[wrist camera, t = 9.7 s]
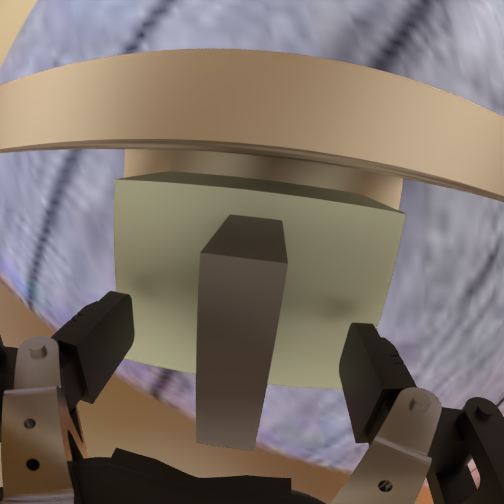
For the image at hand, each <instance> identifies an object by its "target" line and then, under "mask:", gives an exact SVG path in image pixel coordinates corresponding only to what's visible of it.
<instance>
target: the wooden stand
mask: <svg viewBox="0 0 504 504" xmlns="http://www.w3.org/2000/svg"><path fill="white" fill-rule="evenodd" d="M60 149H125V159H124V178H126V177H132V176H138V175H145V174H151V173H158V172H165V171H175V172H189V173H202V174H213V175H224V176H234V177H244V178H253V179H262V180H270V181H278V182H286V183H293V184H301V185H308V186H315V187H321V188H328V189H334V190H340V191H346V192H352V193H358V194H362V195H364V196H367V197H369V198H371V199H374V200H376V201H378V202H380V203H383V204H385V205H387V206H389V207H392V208H394V209H396V210H399V204H400V198H401V192H402V185H403V178H404V179H409V180H414V181H419V182H424V183H429V184H434V185H438V186H443V187H447V188H452V189H456V190H460V191H464V192H468V193H472V194H476V195H480V196H484V197H488V198H492V199H495V200H499V201H502V202H504V117H503V116H501V115H499V114H497V113H495V112H492V111H490V110H488V109H486V108H484V107H482V106H480V105H478V104H475V103H473V102H471V101H468V100H466V99H464V98H461V97H459V96H456V95H454V94H451V93H449V92H446V91H444V90H441V89H438V88H436V87H433V86H430V85H427V84H424V83H421V82H418V81H415V80H412V79H409V78H406V77H402V76H399V75H395V74H392V73H388V72H385V71H381V70H377V69H373V68H369V67H365V66H360V65H356V64H351V63H346V62H341V61H336V60H331V59H325V58H319V57H313V56H306V55H299V54H291V53H282V52H271V51H259V50H242V49H181V50H164V51H151V52H141V53H133V54H125V55H118V56H111V57H105V58H99V59H93V60H88V61H83V62H78V63H74V64H69V65H65V66H61V67H57V68H53V69H49V70H46V71H42V72H39V73H35V74H32V75H28V76H25V77H22V78H19V79H16V80H13V81H10V82H7V83H5V84H2V85H0V153H9V152H22V151H37V150H60Z"/></svg>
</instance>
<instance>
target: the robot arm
mask: <svg viewBox="0 0 504 504" xmlns="http://www.w3.org/2000/svg"><path fill="white" fill-rule="evenodd" d="M134 336H135V329H134V319H133V307H132V298H131V296H130V295H129V294H125V293H120V292H114V291H110V292H108V293H107V294H106V295H105V296H104V297H103V298H101V299H100V300H99V301H96V302H94V303H91V304H89V305H87V306H85V307H84V308H83V309H82V310H80V311H79V312H78V313H77V315H75V316H74V317H73V318H71V320H69V321H68V322H67V323H66V324H65V325H64V326H63V327H62V328H60V329H59V330H58V331H57V332H56V333H55V334H54V335H53V336H52V337H51V338H49V337H44V336H38V337H33V338H30V339H28V340H26V341H24V342H23V343H22V344H21V345H20V346H19V348H13V347H5V346H4V345H3V342H2V339H1V336H0V442H1V462H2V480H3V487H0V504H326V503H324V502H322V501H320V500H319V499H317V498H315V497H312V496H310V495H308V494H305V493H302V492H299V491H295V490H291V478H274V477H259V476H248V475H244V476H232V477H215V478H197V477H194V476H192V475H189V474H187V473H184V472H182V471H180V470H178V469H175V468H173V467H171V466H169V465H167V464H165V463H163V462H160V461H158V460H156V459H153V458H150V457H146V456H142V455H139V454H135V453H132V452H128V451H125V450H122V449H119V448H116V449H115V451H114V453H113V455H112V457H111V458H109V457H94V458H90V457H89V454H88V451H87V447H86V443H85V439H84V435H83V430H82V425H81V420H80V416H79V410H78V408H77V403H78V402H79V401H80V400H82V401H85V402H88V403H91V404H93V403H94V401H95V400H96V398H97V397H98V395H99V394H100V392H101V391H102V389H103V388H104V386H105V385H106V383H107V382H108V380H109V379H110V377H111V376H112V375H113V373H114V372H115V370H116V369H117V367H118V366H119V364H120V363H121V361H122V360H123V359H124V357H125V356H126V354H127V353H128V351H129V350H130V348H131V347H132V345H133V342H134ZM403 363H404V362H403V360H402V358H401V357H399V353H398V351H397V349H396V348H395V346H394V345H393V344H392V343H390V342H389V341H388V340H387V339H386V338H381V337H380V336H379V334H378V332H377V330H376V328H375V326H374V325H373V324H372V323H356V322H353V323H351V325H350V327H349V330H348V333H347V337H346V340H345V344H344V347H343V351H342V354H341V357H340V362H339V376H340V380H341V384H342V388H343V392H344V396H345V400H346V404H347V408H348V412H349V416H350V420H351V424H352V429H353V433H354V437H355V442H356V443H369V449H368V450H367V452H366V453H365V455H364V456H363V458H362V460H361V461H360V463H359V464H358V466H357V467H356V469H355V470H354V472H353V473H352V475H351V476H350V478H349V479H348V480H347V482H346V483H345V485H344V486H343V487H342V489H341V490H340V492H339V493H338V494H337V495H336V497H335V498H334V499H333V501H332V502H331V503H330V504H415V501H416V499H417V497H418V494H419V492H420V490H421V487H422V485H423V483H424V480H425V477H426V478H427V481H428V484H429V488H430V491H431V494H432V498H433V502H434V504H504V417H503V415H502V413H501V412H500V410H499V409H498V407H497V406H496V405H495V404H494V403H492V402H491V401H489V400H487V399H485V398H481V397H474V398H471V399H469V400H468V401H467V402H466V404H465V405H464V407H463V409H462V410H459V409H451V408H444V407H442V406H441V402H440V401H439V399H438V398H437V397H436V396H435V395H434V394H433V393H431V392H430V391H428V390H425V389H422V388H417V386H416V384H415V382H414V380H413V379H412V377H411V375H410V373H409V371H408V369H407V368H406V366H405V364H403ZM472 458H473V460H474V462H475V465H476V467H477V469H478V472H479V474H480V485H479V488H478V489H477V488H476V485H475V483H474V480H473V478H472V475H471V473H470V470H469V468H468V465H467V464H468V463H469V462H470V461H471V459H472Z"/></svg>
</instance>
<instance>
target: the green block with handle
mask: <svg viewBox="0 0 504 504" xmlns="http://www.w3.org/2000/svg"><path fill="white" fill-rule="evenodd" d="M405 217H406V214H405V213H403V212H401V211H398V210H396V209H394V208H392V207H389V206H387V205H385V204H383V203H380V202H378V201H376V200H374V199H371V198H369V197H367V196H364V195H362V194H358V193H352V192H346V191H340V190H334V189H328V188H321V187H315V186H308V185H301V184H293V183H286V182H278V181H270V180H262V179H253V178H244V177H234V176H224V175H213V174H202V173H189V172H175V171H165V172H158V173H151V174H145V175H138V176H132V177H126V178H120V179H115V187H114V256H115V277H116V292H120V293H125V294H129V295H130V296H131V298H132V307H133V319H134V329H135V336H134V342H133V345H132V347H131V348H130V350H129V351H128V353H127V354H126V356H125V357H124V358H125V359H129V360H133V361H137V362H141V363H145V364H149V365H154V366H158V367H163V368H168V369H173V370H178V371H183V372H188V373H194V374H196V439H197V443H200V444H206V445H212V446H218V447H225V448H232V449H240V450H248V451H254V446H255V442H256V437H257V432H258V427H259V423H260V418H261V413H262V408H263V403H264V398H265V393H266V388H267V384H272V385H282V386H294V387H308V388H327V389H343V388H342V384H341V380H340V376H339V362H340V357H341V354H342V351H343V347H344V344H345V340H346V337H347V333H348V330H349V327H350V325H351V323H353V322H356V323H372V324H373V325H374V326H375V328H376V329H377V326H378V323H379V320H380V317H381V314H382V310H383V307H384V304H385V300H386V297H387V293H388V290H389V286H390V282H391V278H392V275H393V271H394V267H395V263H396V258H397V254H398V250H399V246H400V241H401V236H402V232H403V227H404V222H405Z"/></svg>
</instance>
